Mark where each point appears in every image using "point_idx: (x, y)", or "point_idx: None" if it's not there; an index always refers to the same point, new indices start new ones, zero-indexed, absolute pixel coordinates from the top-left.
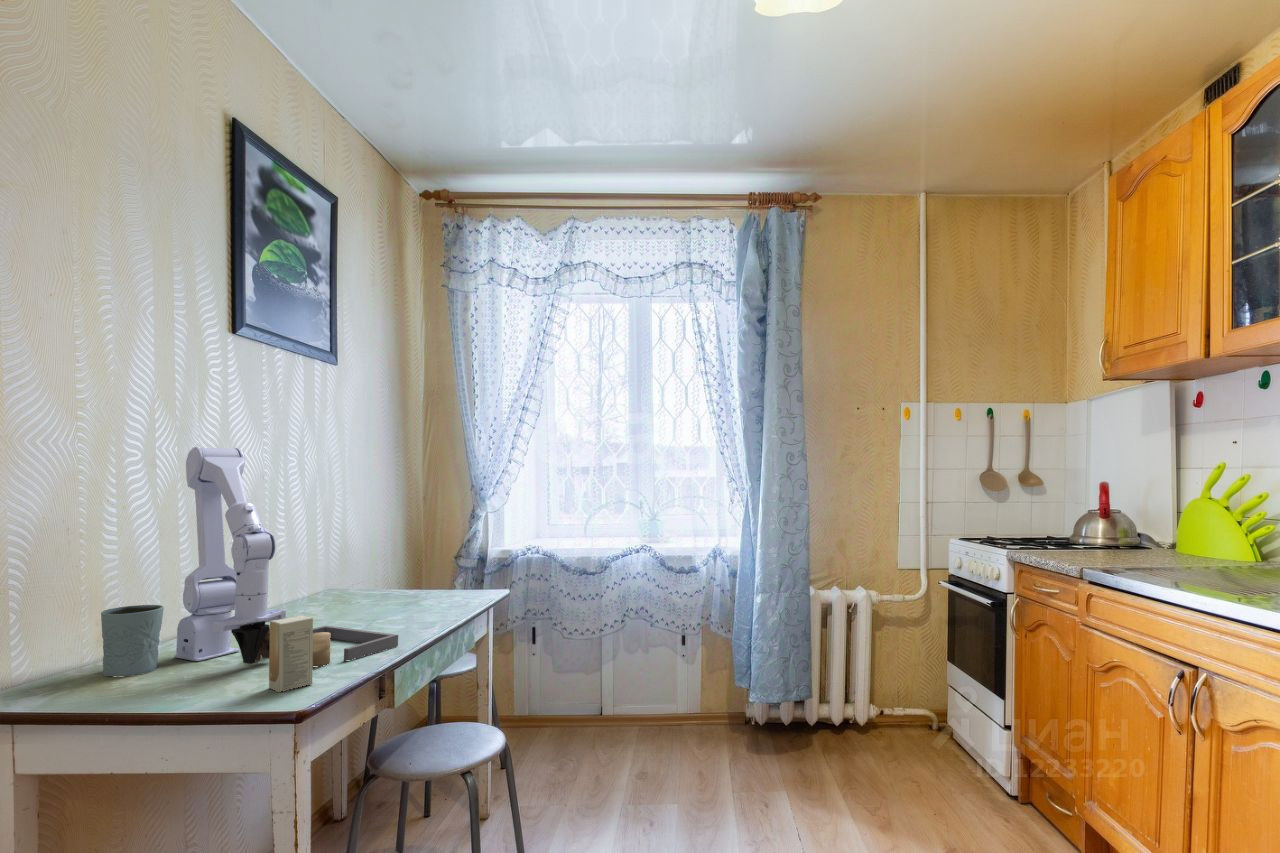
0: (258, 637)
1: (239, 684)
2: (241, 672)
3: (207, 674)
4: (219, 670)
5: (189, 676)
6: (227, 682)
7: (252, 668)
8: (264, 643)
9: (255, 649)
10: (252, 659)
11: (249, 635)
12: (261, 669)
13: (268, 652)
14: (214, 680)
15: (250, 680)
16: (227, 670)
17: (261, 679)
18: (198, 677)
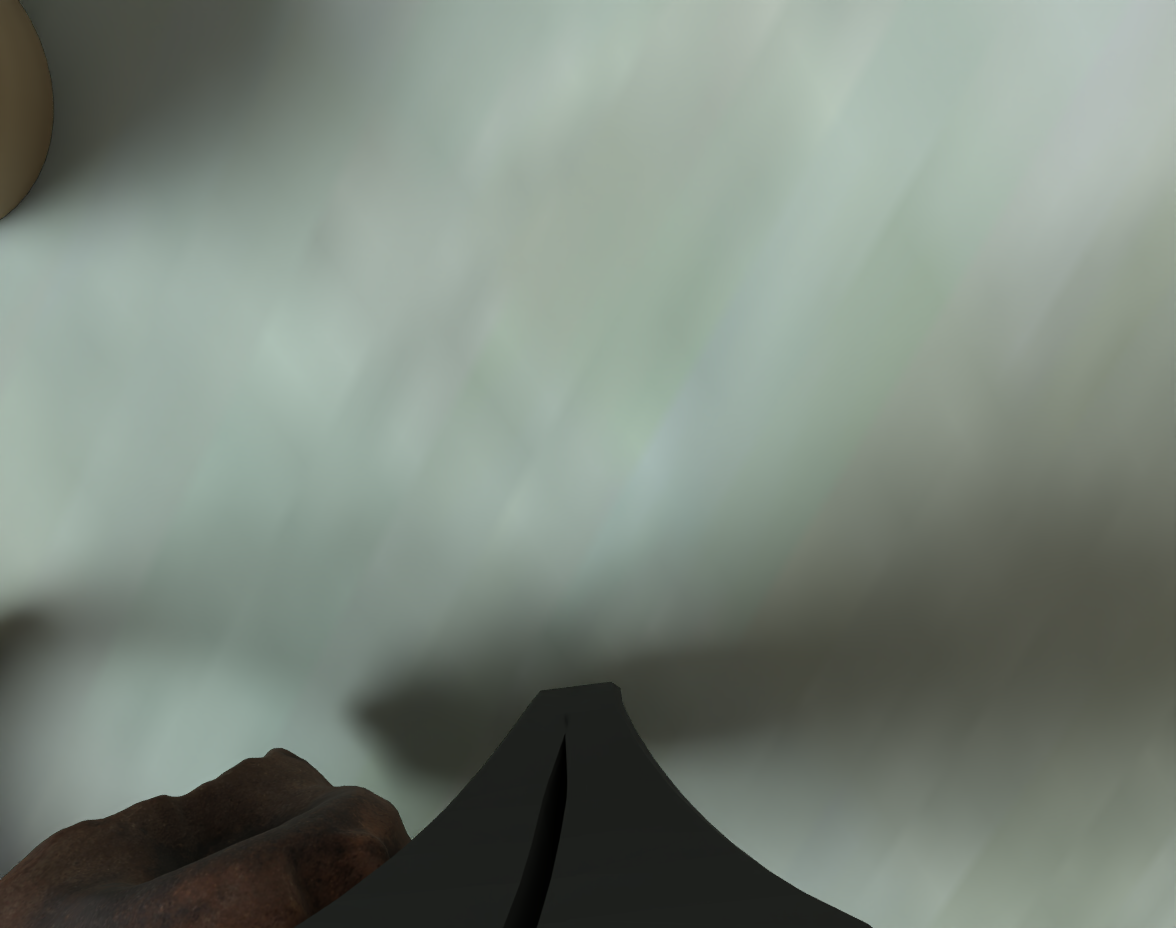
0: (500, 889)
1: (1110, 54)
2: (752, 593)
3: (1008, 826)
4: (839, 872)
5: (1153, 902)
6: (1120, 296)
7: (577, 653)
8: (348, 843)
9: (548, 770)
10: (587, 700)
11: (813, 911)
12: (536, 520)
13: (294, 793)
14: (1134, 523)
15: (915, 122)
16: (791, 804)
17: (807, 35)
18: (1135, 791)
